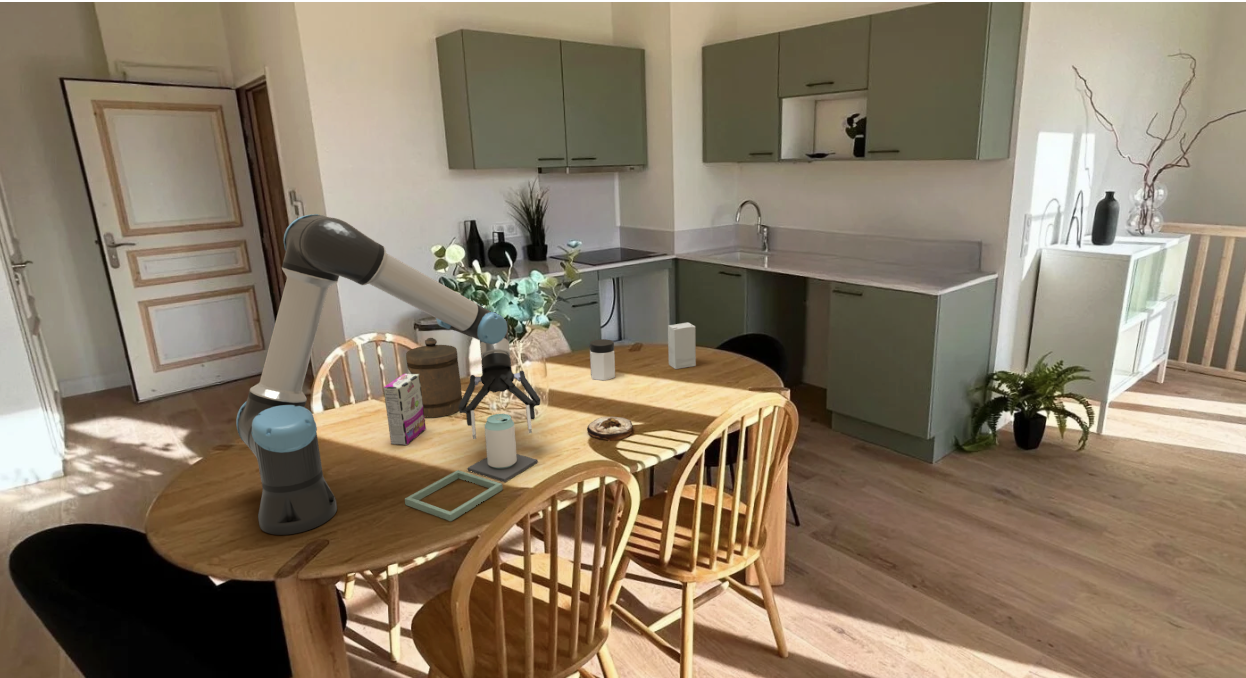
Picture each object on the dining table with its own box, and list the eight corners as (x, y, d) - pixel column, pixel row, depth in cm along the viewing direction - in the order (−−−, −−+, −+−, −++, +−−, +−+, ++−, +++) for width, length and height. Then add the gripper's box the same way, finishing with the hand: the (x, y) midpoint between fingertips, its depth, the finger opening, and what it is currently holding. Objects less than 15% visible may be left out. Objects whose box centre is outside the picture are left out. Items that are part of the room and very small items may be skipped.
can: (516, 456, 172) (513, 411, 169) (517, 468, 166) (514, 422, 163) (488, 458, 171) (484, 413, 168) (487, 471, 165) (483, 424, 161)
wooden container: (421, 400, 215) (413, 332, 209) (468, 399, 215) (462, 331, 209) (405, 418, 201) (396, 345, 195) (455, 417, 201) (448, 345, 195)
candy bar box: (410, 428, 194) (403, 372, 189) (426, 429, 193) (420, 373, 188) (389, 444, 183) (382, 386, 179) (406, 446, 182) (399, 387, 178)
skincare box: (688, 362, 247) (688, 321, 243) (696, 366, 242) (696, 325, 238) (667, 365, 244) (667, 324, 240) (674, 369, 239) (674, 328, 235)
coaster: (504, 482, 161) (504, 479, 161) (467, 470, 167) (467, 467, 167) (537, 462, 171) (537, 459, 170) (501, 452, 177) (500, 449, 177)
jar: (606, 370, 239) (605, 337, 236) (620, 376, 233) (619, 342, 230) (585, 376, 234) (583, 342, 231) (599, 382, 228) (597, 347, 225)
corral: (450, 521, 144) (450, 515, 144) (405, 504, 152) (404, 498, 151) (502, 489, 157) (502, 483, 157) (458, 475, 165) (457, 470, 164)
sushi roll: (571, 436, 186) (571, 422, 185) (603, 418, 198) (603, 405, 197) (617, 448, 178) (616, 433, 177) (647, 429, 190) (647, 415, 189)
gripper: (543, 360, 186) (552, 434, 176) (448, 369, 181) (451, 445, 171) (544, 347, 179) (553, 422, 169) (445, 355, 174) (449, 433, 164)
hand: (502, 434), depth 170 cm, fingers open, 13 cm apart
